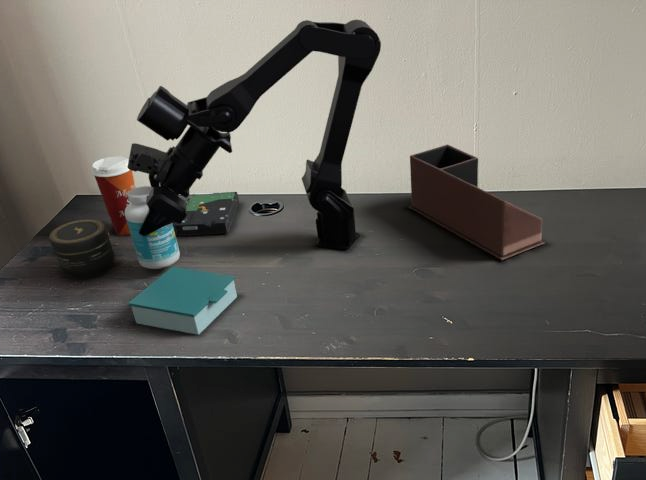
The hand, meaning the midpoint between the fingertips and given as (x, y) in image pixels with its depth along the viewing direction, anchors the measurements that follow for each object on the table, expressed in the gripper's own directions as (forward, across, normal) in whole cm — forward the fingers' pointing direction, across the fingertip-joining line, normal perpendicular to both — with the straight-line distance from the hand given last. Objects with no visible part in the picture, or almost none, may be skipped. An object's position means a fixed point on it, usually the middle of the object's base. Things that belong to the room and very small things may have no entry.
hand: (142, 225), depth 130 cm
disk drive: (-1, -18, +14) cm, 23 cm away
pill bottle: (+4, 0, +6) cm, 8 cm away
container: (+2, +16, +10) cm, 20 cm away
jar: (+15, -5, -2) cm, 16 cm away
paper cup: (+10, -20, +2) cm, 22 cm away
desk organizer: (-36, +2, +50) cm, 61 cm away
